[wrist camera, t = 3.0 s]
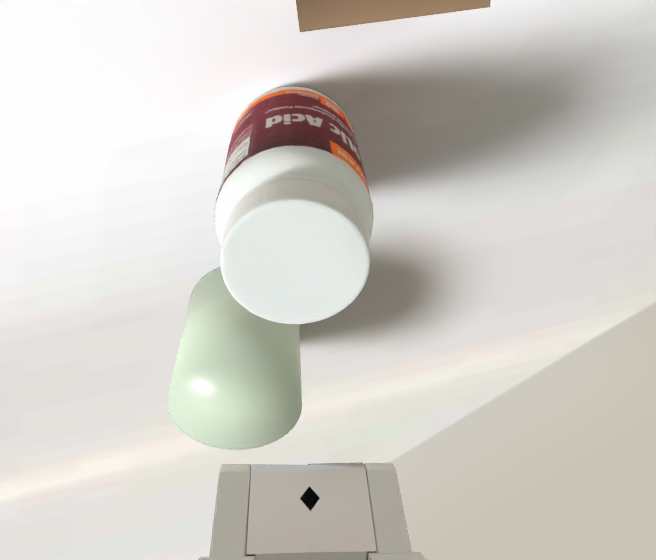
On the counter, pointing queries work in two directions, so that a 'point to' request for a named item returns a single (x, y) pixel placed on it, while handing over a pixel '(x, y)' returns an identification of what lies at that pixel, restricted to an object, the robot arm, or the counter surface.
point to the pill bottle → (294, 209)
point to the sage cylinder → (234, 372)
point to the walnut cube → (373, 11)
